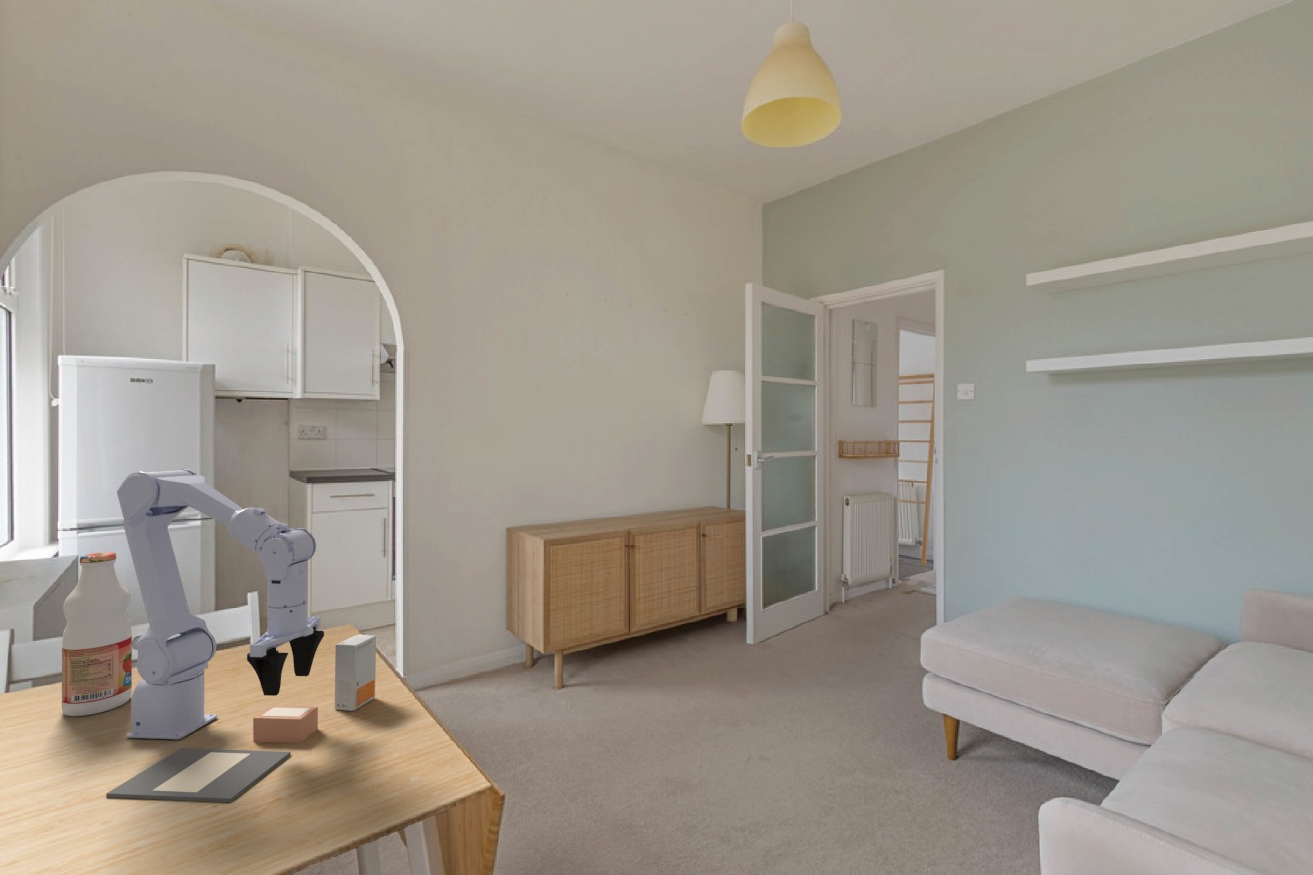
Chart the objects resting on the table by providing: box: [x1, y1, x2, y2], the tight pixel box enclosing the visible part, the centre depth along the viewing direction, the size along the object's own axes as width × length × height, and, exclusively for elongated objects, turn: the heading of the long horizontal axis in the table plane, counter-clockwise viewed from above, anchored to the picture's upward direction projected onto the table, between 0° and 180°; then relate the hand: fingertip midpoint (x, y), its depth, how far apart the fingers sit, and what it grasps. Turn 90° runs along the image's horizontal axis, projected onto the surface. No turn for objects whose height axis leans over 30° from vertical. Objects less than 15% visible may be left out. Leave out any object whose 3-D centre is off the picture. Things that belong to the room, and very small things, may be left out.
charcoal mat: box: [105, 747, 292, 803], centre depth 87 cm, size 18×12×1 cm, turn 87°
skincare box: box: [334, 633, 377, 712], centre depth 110 cm, size 6×4×12 cm
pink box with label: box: [252, 705, 319, 744], centre depth 99 cm, size 8×4×4 cm, turn 87°
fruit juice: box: [61, 551, 133, 717], centre depth 109 cm, size 9×9×28 cm
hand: (287, 684), depth 99 cm, fingers open, 7 cm apart
